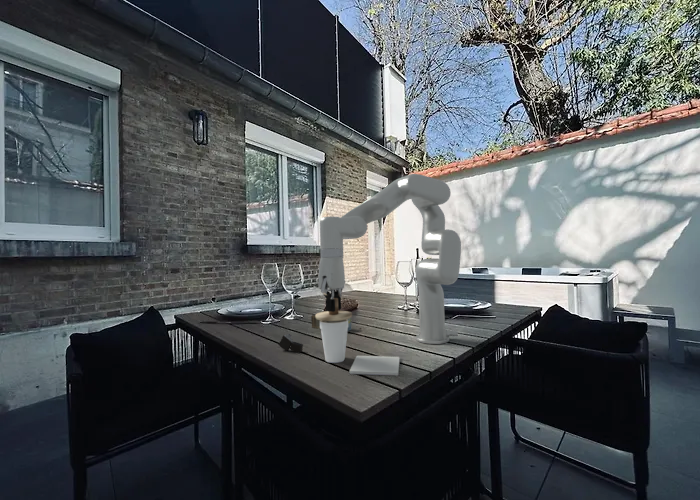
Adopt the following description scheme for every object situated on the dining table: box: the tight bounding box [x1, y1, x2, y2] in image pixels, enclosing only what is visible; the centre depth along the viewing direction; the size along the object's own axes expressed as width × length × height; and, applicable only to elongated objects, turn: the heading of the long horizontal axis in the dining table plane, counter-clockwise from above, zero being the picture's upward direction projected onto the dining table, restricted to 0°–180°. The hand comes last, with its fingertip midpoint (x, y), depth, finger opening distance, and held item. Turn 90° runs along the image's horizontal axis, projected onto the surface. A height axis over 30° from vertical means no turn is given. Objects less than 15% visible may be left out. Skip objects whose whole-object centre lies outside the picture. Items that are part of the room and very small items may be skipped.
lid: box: [314, 298, 353, 321], centre depth 110 cm, size 12×12×6 cm
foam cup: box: [319, 319, 348, 364], centre depth 110 cm, size 10×9×13 cm
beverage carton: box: [310, 314, 352, 332], centre depth 153 cm, size 8×19×6 cm, turn 50°
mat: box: [349, 355, 401, 376], centre depth 102 cm, size 14×14×1 cm
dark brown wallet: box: [277, 333, 304, 354], centre depth 120 cm, size 9×2×6 cm
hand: (333, 309), depth 110 cm, fingers closed on lid, 3 cm apart
